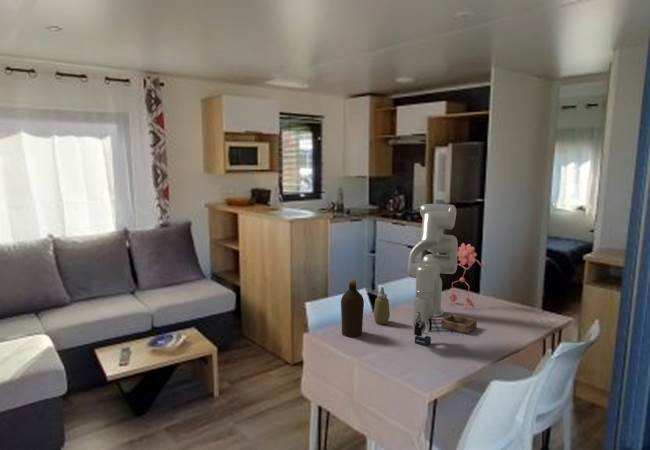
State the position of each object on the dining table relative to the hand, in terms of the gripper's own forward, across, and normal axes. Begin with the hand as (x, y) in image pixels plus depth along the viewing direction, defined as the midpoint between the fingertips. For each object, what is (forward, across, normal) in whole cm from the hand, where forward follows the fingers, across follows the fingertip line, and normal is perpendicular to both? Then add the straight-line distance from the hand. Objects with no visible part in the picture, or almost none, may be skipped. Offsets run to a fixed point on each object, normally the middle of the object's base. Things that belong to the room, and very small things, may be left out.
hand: (423, 332), depth 197 cm
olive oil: (+6, +10, -31) cm, 33 cm away
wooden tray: (+5, -28, +5) cm, 29 cm away
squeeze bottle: (+5, -11, -28) cm, 31 cm away
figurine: (+5, -65, -7) cm, 66 cm away
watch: (+6, 0, 0) cm, 6 cm away
